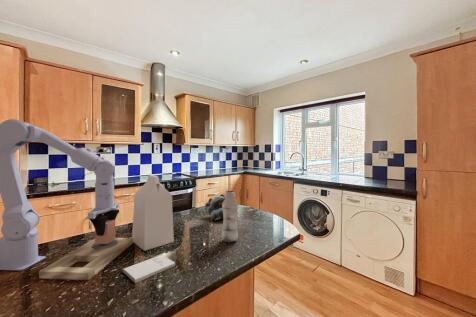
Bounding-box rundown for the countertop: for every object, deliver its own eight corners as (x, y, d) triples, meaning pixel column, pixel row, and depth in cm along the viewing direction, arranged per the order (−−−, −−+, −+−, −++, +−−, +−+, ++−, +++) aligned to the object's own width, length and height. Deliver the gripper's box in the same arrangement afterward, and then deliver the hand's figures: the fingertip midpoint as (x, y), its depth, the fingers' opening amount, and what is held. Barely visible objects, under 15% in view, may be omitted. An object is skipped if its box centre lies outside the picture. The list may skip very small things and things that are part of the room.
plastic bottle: (241, 240, 89) (242, 191, 88) (229, 245, 84) (230, 193, 83) (230, 236, 93) (230, 189, 92) (218, 240, 88) (218, 191, 87)
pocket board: (39, 278, 61) (38, 270, 61) (97, 242, 85) (97, 236, 85) (88, 279, 61) (88, 271, 60) (132, 243, 84) (132, 237, 84)
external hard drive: (122, 273, 65) (161, 258, 74) (135, 285, 59) (175, 267, 69) (122, 268, 65) (161, 253, 74) (135, 279, 59) (175, 262, 69)
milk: (131, 240, 87) (131, 175, 86) (159, 233, 95) (160, 173, 94) (144, 250, 79) (144, 178, 78) (173, 241, 87) (174, 176, 86)
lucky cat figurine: (209, 222, 110) (202, 196, 114) (211, 224, 121) (204, 200, 125) (237, 213, 112) (229, 187, 116) (237, 216, 123) (229, 192, 127)
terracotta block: (94, 243, 76) (94, 223, 76) (103, 238, 81) (103, 219, 81) (107, 244, 76) (107, 224, 76) (115, 238, 81) (115, 220, 81)
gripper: (102, 199, 71) (102, 241, 71) (126, 191, 85) (126, 226, 86) (81, 199, 71) (81, 240, 71) (108, 190, 85) (109, 225, 86)
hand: (104, 232), depth 78 cm, fingers closed on terracotta block, 4 cm apart
